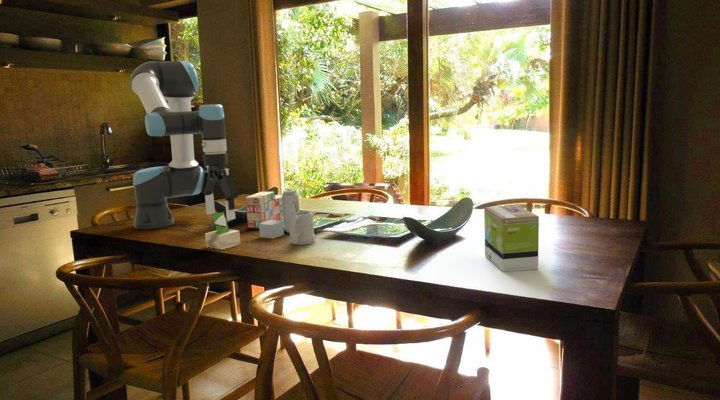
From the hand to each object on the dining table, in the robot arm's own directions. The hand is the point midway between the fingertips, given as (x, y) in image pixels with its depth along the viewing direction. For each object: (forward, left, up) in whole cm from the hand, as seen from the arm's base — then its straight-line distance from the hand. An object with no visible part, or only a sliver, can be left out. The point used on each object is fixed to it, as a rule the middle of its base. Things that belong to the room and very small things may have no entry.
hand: (220, 216), depth 172 cm
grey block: (+2, +18, -10) cm, 21 cm away
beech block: (0, 0, -10) cm, 10 cm away
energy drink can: (+2, +27, -10) cm, 29 cm away
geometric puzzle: (0, 0, -5) cm, 6 cm away
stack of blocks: (-18, +30, -10) cm, 37 cm away
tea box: (+83, +41, -10) cm, 93 cm away
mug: (+19, +18, -10) cm, 28 cm away
